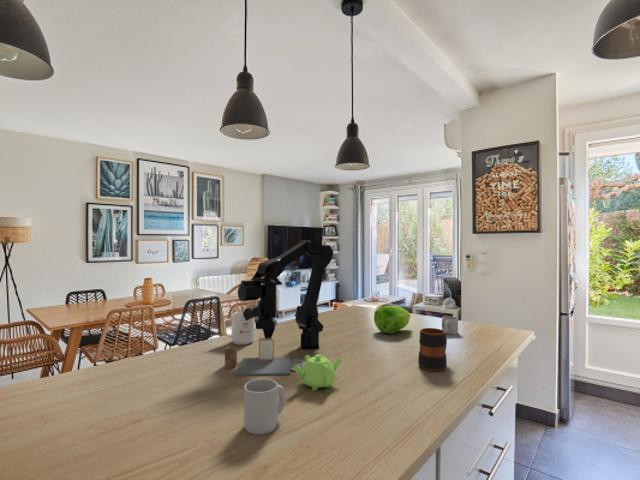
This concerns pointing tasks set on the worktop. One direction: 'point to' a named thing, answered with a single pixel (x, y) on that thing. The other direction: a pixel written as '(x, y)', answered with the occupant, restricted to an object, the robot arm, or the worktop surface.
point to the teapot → (317, 371)
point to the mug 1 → (241, 329)
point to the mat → (264, 367)
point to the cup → (262, 405)
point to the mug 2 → (432, 349)
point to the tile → (266, 349)
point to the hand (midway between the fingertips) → (267, 343)
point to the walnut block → (230, 356)
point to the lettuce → (391, 318)
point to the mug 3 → (450, 325)
